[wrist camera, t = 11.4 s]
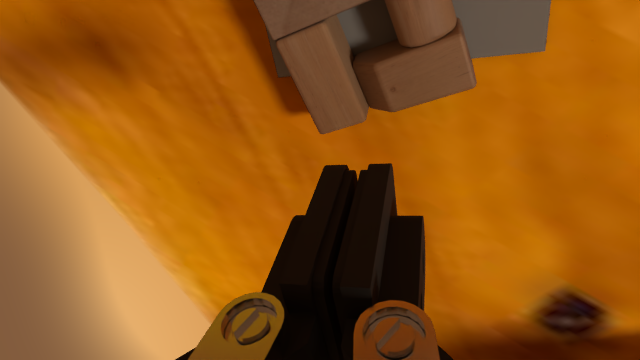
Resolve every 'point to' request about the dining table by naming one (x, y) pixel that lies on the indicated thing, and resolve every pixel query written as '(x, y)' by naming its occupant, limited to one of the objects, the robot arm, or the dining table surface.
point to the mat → (477, 20)
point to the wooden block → (369, 58)
